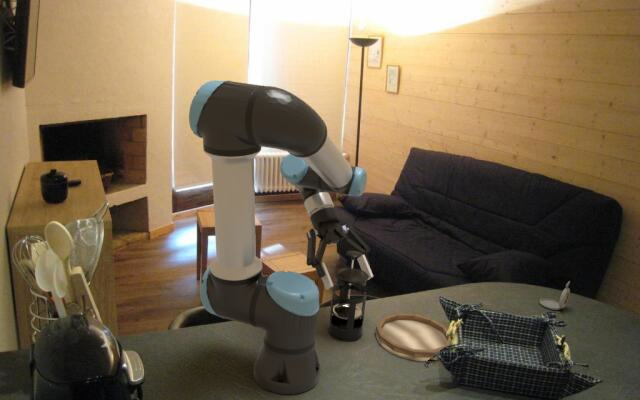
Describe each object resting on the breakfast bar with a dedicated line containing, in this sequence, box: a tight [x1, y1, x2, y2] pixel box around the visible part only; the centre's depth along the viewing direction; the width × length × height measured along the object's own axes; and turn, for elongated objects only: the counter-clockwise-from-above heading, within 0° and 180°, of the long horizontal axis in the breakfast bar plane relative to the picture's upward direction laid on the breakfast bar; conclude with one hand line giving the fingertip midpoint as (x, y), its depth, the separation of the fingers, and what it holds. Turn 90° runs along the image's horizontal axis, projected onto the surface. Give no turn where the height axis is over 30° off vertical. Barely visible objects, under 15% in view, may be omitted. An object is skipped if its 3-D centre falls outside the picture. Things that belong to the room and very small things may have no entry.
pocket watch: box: [539, 280, 571, 311], centre depth 166 cm, size 8×8×10 cm
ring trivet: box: [375, 312, 451, 362], centre depth 140 cm, size 20×20×2 cm
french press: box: [327, 250, 369, 343], centre depth 138 cm, size 12×9×23 cm
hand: (350, 283), depth 138 cm, fingers open, 13 cm apart
